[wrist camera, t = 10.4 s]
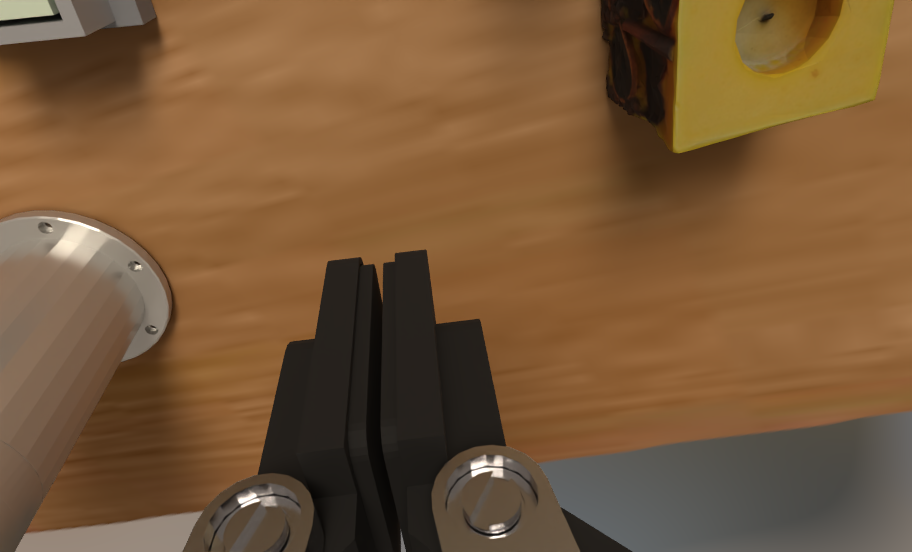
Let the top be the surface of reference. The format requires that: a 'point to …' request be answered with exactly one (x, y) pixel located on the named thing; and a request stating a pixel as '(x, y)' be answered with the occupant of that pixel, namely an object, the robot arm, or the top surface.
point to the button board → (77, 20)
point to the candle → (741, 62)
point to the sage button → (26, 8)
